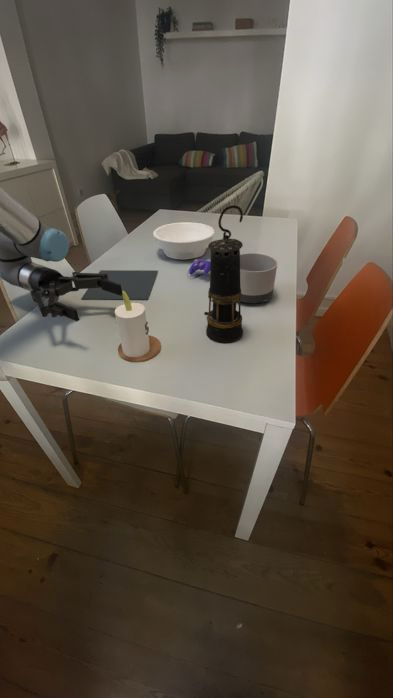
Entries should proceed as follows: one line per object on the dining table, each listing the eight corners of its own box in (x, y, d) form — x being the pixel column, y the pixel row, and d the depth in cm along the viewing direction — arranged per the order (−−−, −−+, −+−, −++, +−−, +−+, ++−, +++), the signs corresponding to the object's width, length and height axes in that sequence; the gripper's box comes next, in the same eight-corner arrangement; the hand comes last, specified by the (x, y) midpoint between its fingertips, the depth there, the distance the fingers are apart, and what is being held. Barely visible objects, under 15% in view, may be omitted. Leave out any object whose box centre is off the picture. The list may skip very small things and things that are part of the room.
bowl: (164, 241, 131) (163, 220, 126) (218, 244, 128) (219, 223, 122) (147, 263, 114) (144, 240, 109) (209, 267, 110) (209, 243, 105)
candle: (146, 358, 71) (137, 299, 62) (118, 356, 72) (106, 297, 62) (154, 342, 76) (146, 284, 66) (127, 339, 77) (117, 283, 67)
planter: (274, 288, 97) (279, 255, 90) (269, 309, 87) (274, 274, 81) (233, 283, 100) (235, 251, 94) (223, 303, 90) (225, 268, 84)
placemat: (81, 299, 94) (80, 298, 94) (100, 271, 110) (100, 270, 109) (148, 300, 93) (147, 299, 93) (158, 271, 109) (157, 270, 108)
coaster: (113, 361, 71) (113, 360, 71) (123, 335, 79) (123, 334, 79) (157, 362, 70) (157, 361, 70) (163, 336, 78) (163, 334, 78)
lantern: (202, 325, 82) (200, 200, 63) (235, 320, 83) (244, 196, 65) (211, 346, 75) (212, 212, 56) (248, 340, 76) (261, 208, 58)
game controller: (177, 266, 102) (197, 251, 106) (187, 288, 106) (206, 273, 111) (199, 266, 95) (219, 249, 99) (208, 289, 99) (227, 273, 104)
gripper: (83, 276, 93) (138, 294, 84) (3, 315, 77) (60, 342, 68) (77, 251, 89) (134, 267, 79) (-10, 286, 72) (49, 312, 63)
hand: (100, 302), depth 73 cm, fingers open, 13 cm apart
